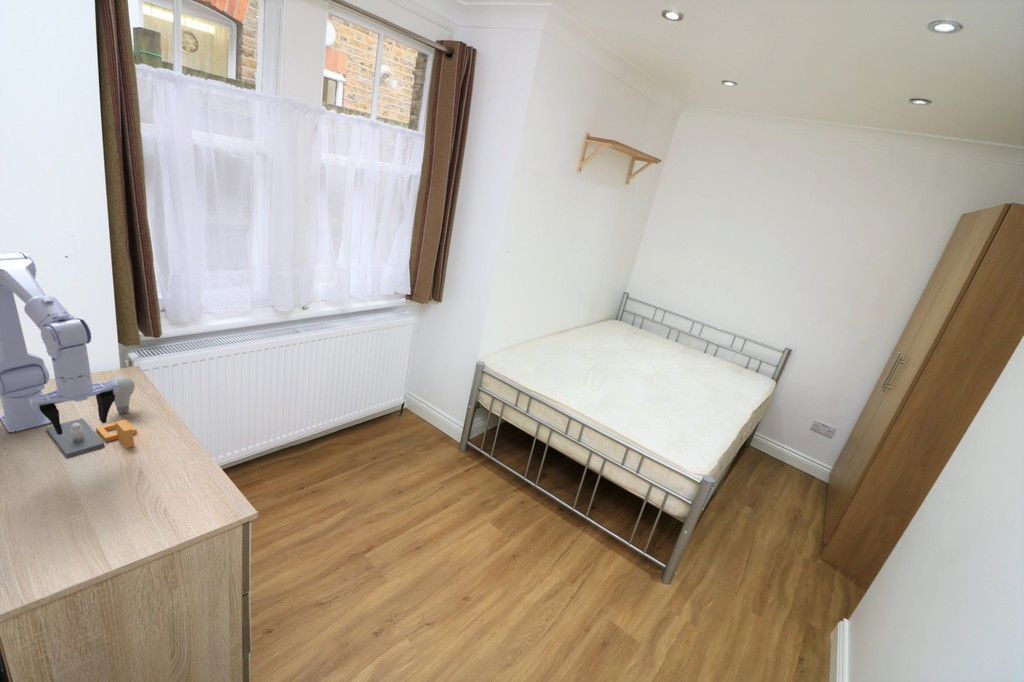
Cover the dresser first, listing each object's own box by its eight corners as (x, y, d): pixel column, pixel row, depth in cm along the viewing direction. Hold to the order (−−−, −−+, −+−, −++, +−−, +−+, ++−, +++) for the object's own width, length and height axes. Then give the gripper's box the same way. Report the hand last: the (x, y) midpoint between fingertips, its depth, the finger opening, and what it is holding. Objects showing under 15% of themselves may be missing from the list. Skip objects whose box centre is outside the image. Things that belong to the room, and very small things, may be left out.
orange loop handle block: (96, 431, 120) (93, 414, 119) (127, 423, 125) (125, 406, 124) (114, 452, 114) (112, 434, 113) (145, 442, 119) (143, 425, 118)
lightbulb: (141, 413, 130) (137, 378, 127) (114, 420, 125) (109, 384, 122) (131, 405, 133) (127, 370, 130) (105, 412, 128) (99, 375, 124)
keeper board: (46, 430, 117) (43, 411, 116) (83, 421, 123) (80, 403, 121) (66, 457, 110) (63, 437, 108) (104, 446, 116) (101, 427, 114)
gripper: (31, 389, 94) (43, 446, 99) (120, 371, 106) (127, 423, 110) (22, 376, 98) (33, 431, 103) (109, 360, 109) (116, 411, 114)
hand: (81, 426), depth 107 cm, fingers open, 7 cm apart
